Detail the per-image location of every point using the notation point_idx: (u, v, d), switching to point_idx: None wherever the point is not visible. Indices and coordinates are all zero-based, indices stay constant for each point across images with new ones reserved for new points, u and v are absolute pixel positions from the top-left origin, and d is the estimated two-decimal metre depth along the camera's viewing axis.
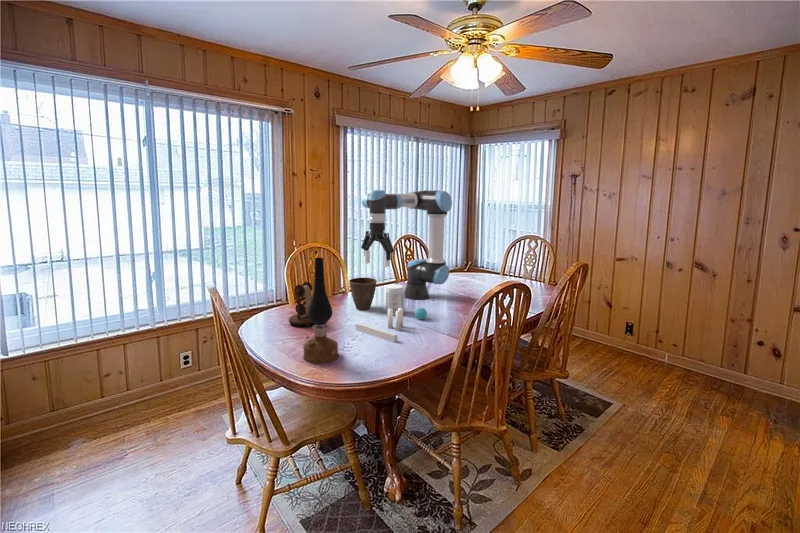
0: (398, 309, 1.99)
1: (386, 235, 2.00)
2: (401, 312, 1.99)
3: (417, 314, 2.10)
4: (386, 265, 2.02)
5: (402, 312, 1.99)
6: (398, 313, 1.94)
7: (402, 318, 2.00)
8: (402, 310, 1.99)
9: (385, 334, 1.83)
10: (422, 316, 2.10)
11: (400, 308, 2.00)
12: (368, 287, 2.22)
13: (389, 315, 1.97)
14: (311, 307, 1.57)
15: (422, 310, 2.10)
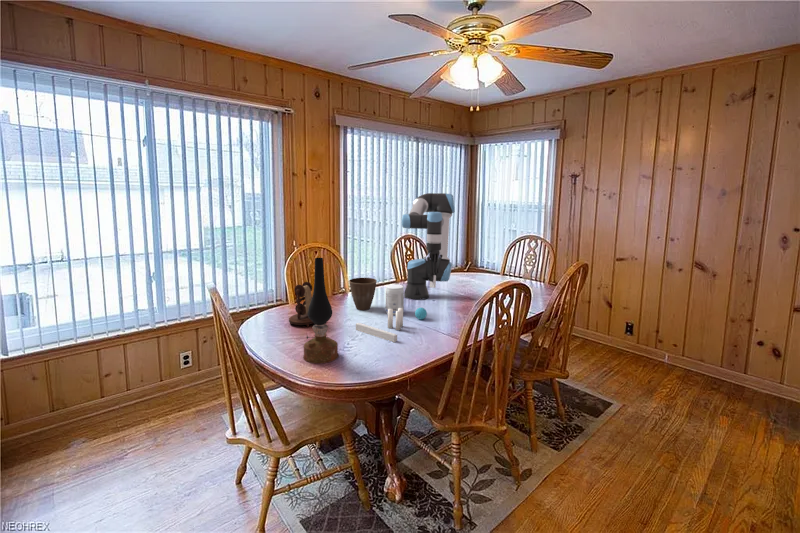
0: (398, 309, 1.99)
1: (425, 259, 2.11)
2: (401, 312, 1.99)
3: (417, 314, 2.10)
4: (430, 286, 2.17)
5: (402, 312, 1.99)
6: (398, 313, 1.94)
7: (402, 318, 2.00)
8: (402, 310, 1.99)
9: (385, 334, 1.83)
10: (422, 316, 2.10)
11: (400, 308, 2.00)
12: (368, 287, 2.22)
13: (389, 315, 1.97)
14: (311, 307, 1.57)
15: (422, 310, 2.10)
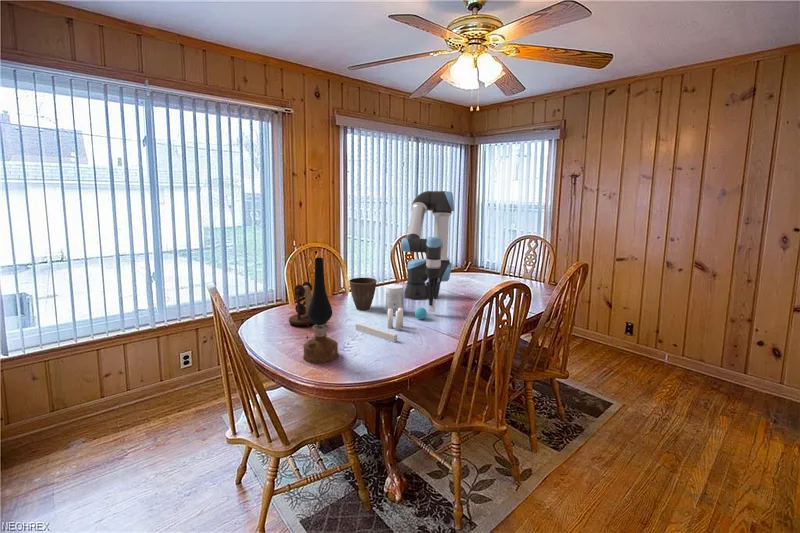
0: (398, 309, 1.99)
1: (425, 284, 2.13)
2: (401, 312, 1.99)
3: (417, 314, 2.10)
4: (430, 309, 2.20)
5: (402, 312, 1.99)
6: (398, 313, 1.94)
7: (402, 318, 2.00)
8: (402, 310, 1.99)
9: (385, 334, 1.83)
10: (422, 316, 2.10)
11: (400, 308, 2.00)
12: (368, 287, 2.22)
13: (389, 315, 1.97)
14: (311, 307, 1.57)
15: (422, 310, 2.10)
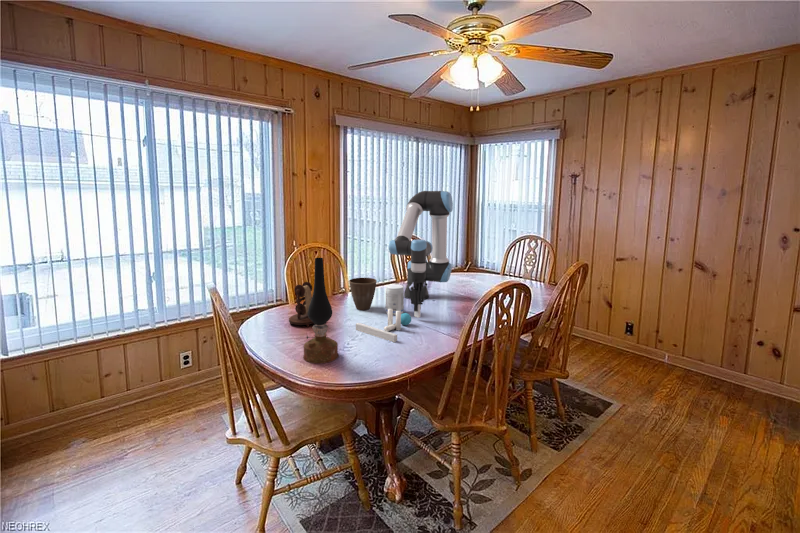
0: (385, 330, 1.94)
1: (409, 289, 2.04)
2: (389, 330, 1.94)
3: None
4: (415, 315, 2.10)
5: (390, 329, 1.94)
6: (398, 313, 1.94)
7: (394, 327, 1.96)
8: (388, 330, 1.93)
9: (385, 334, 1.83)
10: (409, 316, 2.02)
11: (385, 329, 1.93)
12: (368, 287, 2.22)
13: (389, 315, 1.97)
14: (311, 307, 1.57)
15: None
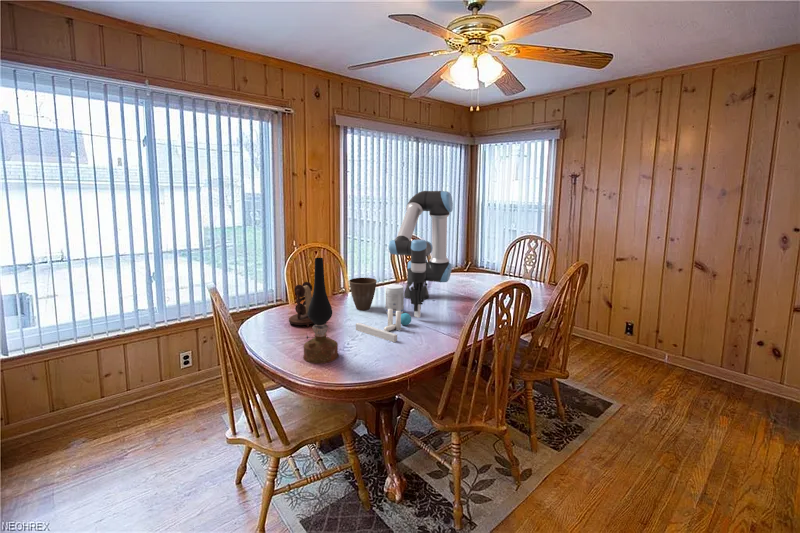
0: None
1: (409, 289, 2.04)
2: (389, 330, 1.94)
3: None
4: (415, 315, 2.10)
5: (390, 329, 1.94)
6: (398, 313, 1.94)
7: (394, 328, 1.96)
8: (388, 330, 1.93)
9: (385, 334, 1.83)
10: (409, 316, 2.02)
11: (385, 329, 1.93)
12: (368, 287, 2.22)
13: (389, 315, 1.97)
14: (311, 307, 1.57)
15: None
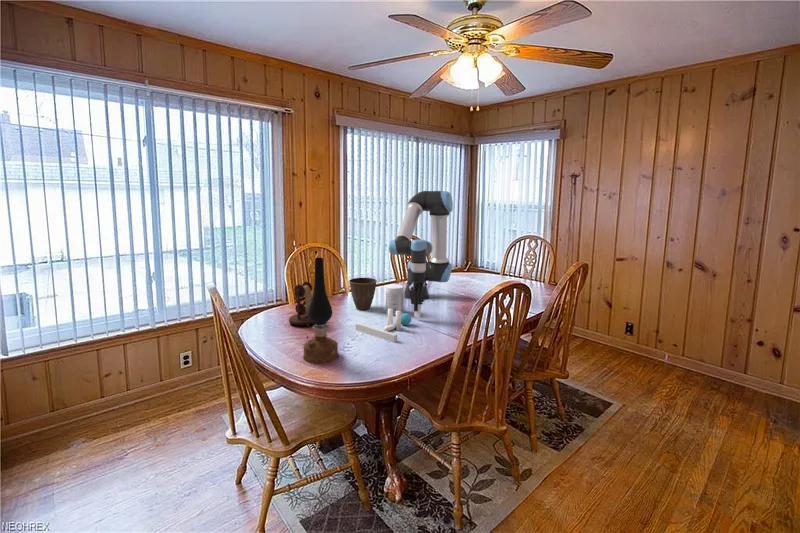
0: None
1: (409, 289, 2.04)
2: (389, 330, 1.94)
3: None
4: (415, 315, 2.10)
5: (390, 329, 1.94)
6: (398, 313, 1.94)
7: (394, 327, 1.96)
8: (388, 330, 1.93)
9: (385, 334, 1.83)
10: (409, 316, 2.02)
11: (385, 329, 1.94)
12: (368, 287, 2.22)
13: (389, 315, 1.97)
14: (311, 307, 1.57)
15: None
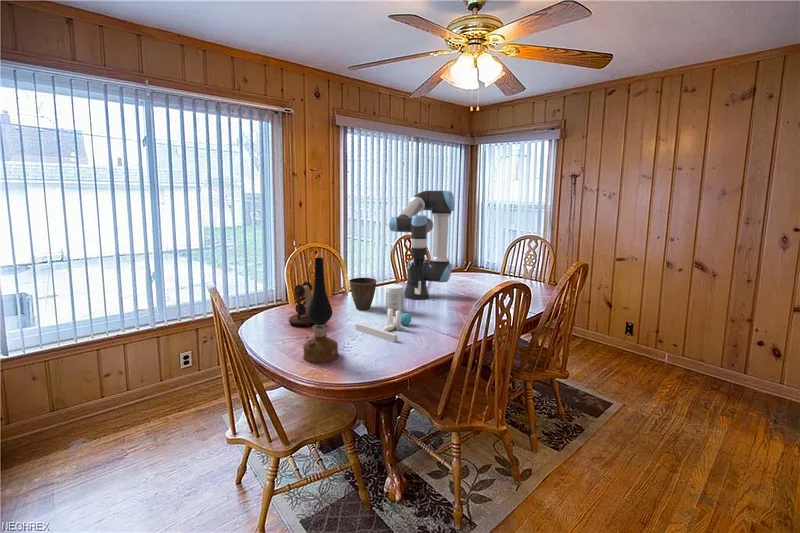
0: None
1: (409, 265, 2.02)
2: (389, 330, 1.94)
3: None
4: (415, 292, 2.08)
5: (389, 329, 1.94)
6: (398, 313, 1.94)
7: (394, 327, 1.96)
8: (388, 329, 1.93)
9: (385, 334, 1.83)
10: (409, 316, 2.02)
11: (385, 329, 1.94)
12: (368, 287, 2.22)
13: (389, 315, 1.97)
14: (311, 307, 1.57)
15: None
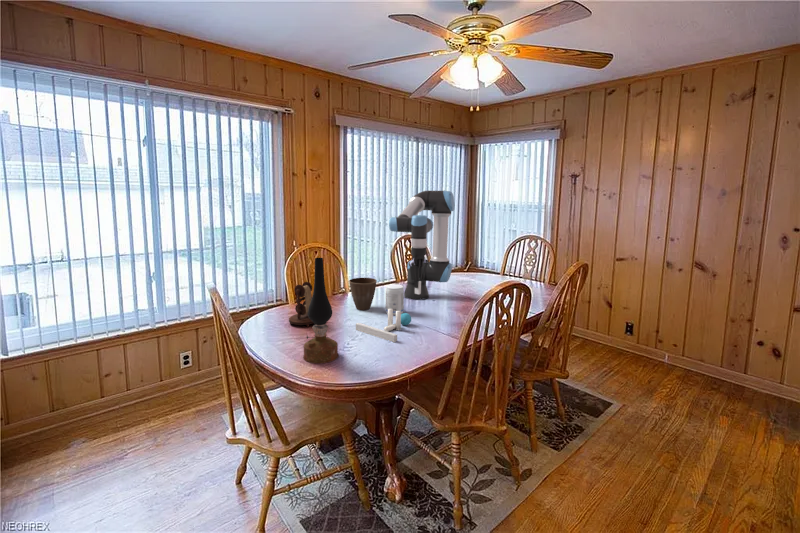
0: None
1: (410, 265, 2.02)
2: (389, 330, 1.94)
3: None
4: (415, 292, 2.08)
5: (390, 329, 1.94)
6: (398, 313, 1.94)
7: (394, 328, 1.96)
8: (388, 330, 1.93)
9: (385, 334, 1.83)
10: (409, 316, 2.02)
11: (385, 329, 1.93)
12: (368, 287, 2.22)
13: (389, 315, 1.97)
14: (311, 307, 1.57)
15: None
